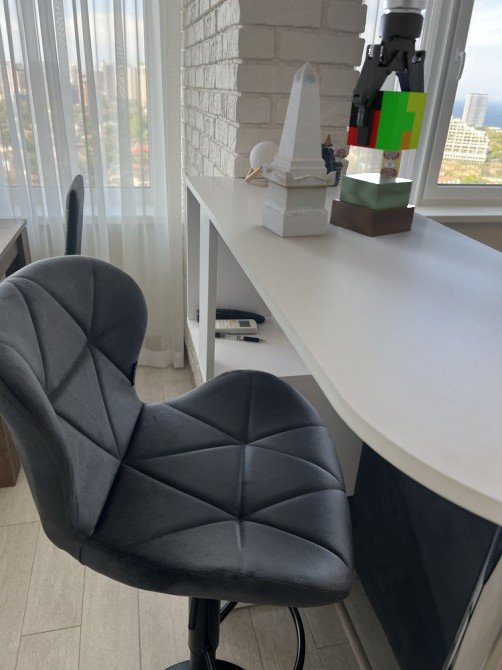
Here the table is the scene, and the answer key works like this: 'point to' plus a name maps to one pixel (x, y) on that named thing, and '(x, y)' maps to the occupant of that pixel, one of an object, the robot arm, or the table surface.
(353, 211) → the block stack
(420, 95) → the puzzle toy
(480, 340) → the table surface
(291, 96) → the miniature monument
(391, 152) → the candy box
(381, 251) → the table surface
